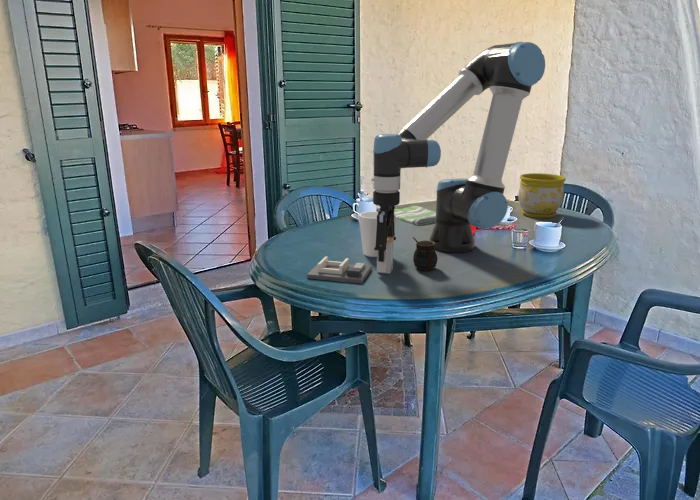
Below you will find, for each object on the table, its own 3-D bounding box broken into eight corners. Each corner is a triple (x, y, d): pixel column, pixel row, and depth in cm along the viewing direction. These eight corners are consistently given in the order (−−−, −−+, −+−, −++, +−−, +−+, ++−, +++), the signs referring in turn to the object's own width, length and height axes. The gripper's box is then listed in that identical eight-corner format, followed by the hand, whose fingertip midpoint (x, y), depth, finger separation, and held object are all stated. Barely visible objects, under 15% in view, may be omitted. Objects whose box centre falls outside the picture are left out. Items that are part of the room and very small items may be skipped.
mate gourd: (441, 271, 150) (443, 238, 147) (417, 274, 148) (418, 241, 145) (431, 263, 157) (432, 232, 154) (408, 266, 155) (408, 234, 152)
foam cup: (367, 259, 160) (367, 219, 156) (353, 251, 168) (353, 213, 164) (393, 255, 164) (394, 216, 160) (378, 248, 172) (379, 210, 168)
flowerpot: (509, 210, 225) (513, 173, 220) (548, 209, 227) (552, 172, 222) (527, 220, 208) (531, 180, 203) (569, 219, 210) (574, 179, 205)
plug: (392, 269, 152) (393, 236, 149) (390, 273, 148) (391, 240, 145) (379, 267, 153) (380, 235, 150) (376, 272, 149) (377, 239, 146)
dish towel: (415, 226, 200) (416, 218, 199) (383, 215, 220) (383, 207, 218) (449, 221, 209) (449, 213, 208) (415, 210, 228) (415, 202, 227)
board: (371, 269, 151) (371, 257, 150) (361, 283, 140) (361, 270, 139) (320, 264, 156) (320, 253, 154) (307, 278, 144) (306, 265, 143)
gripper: (381, 183, 154) (380, 254, 161) (364, 197, 134) (363, 277, 141) (406, 184, 152) (403, 256, 159) (392, 198, 132) (390, 279, 139)
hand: (384, 266), depth 150 cm, fingers open, 9 cm apart
